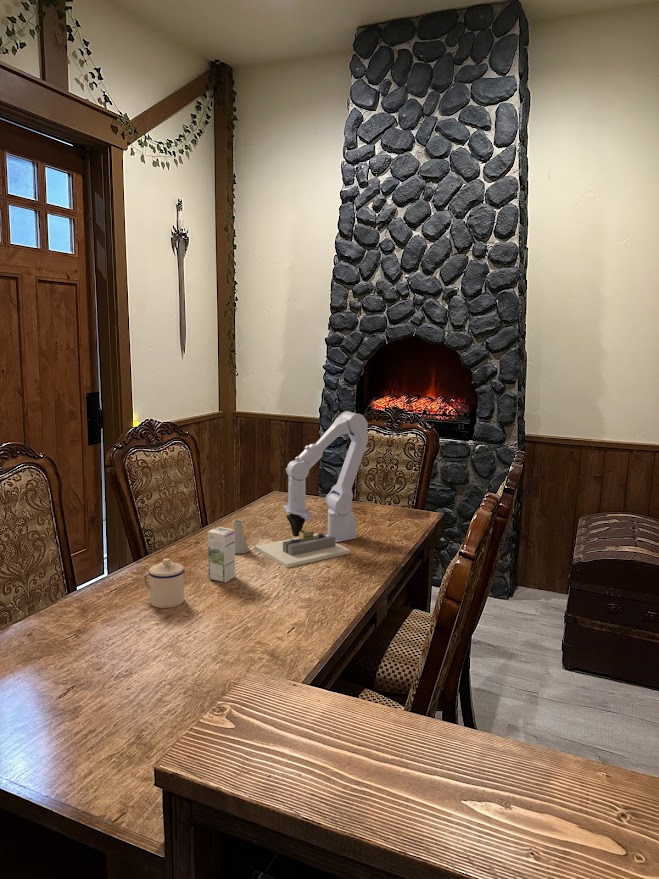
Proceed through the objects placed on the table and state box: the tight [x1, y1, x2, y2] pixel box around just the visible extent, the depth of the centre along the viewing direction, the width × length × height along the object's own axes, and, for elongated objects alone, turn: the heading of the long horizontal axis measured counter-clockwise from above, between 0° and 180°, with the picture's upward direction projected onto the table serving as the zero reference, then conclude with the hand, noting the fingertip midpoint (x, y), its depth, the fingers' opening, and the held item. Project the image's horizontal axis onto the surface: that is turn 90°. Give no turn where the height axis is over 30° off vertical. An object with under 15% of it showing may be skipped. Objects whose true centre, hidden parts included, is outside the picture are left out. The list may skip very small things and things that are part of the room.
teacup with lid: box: [141, 558, 186, 609], centre depth 168 cm, size 12×9×12 cm
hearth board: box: [254, 533, 351, 569], centre depth 208 cm, size 24×20×4 cm
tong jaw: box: [283, 532, 326, 553], centre depth 208 cm, size 15×2×4 cm, turn 125°
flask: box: [232, 519, 250, 555], centre depth 208 cm, size 7×7×10 cm
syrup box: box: [207, 526, 236, 584], centre depth 184 cm, size 6×6×14 cm
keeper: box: [298, 529, 315, 539], centre depth 212 cm, size 4×2×4 cm, turn 125°
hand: (296, 535), depth 217 cm, fingers closed
